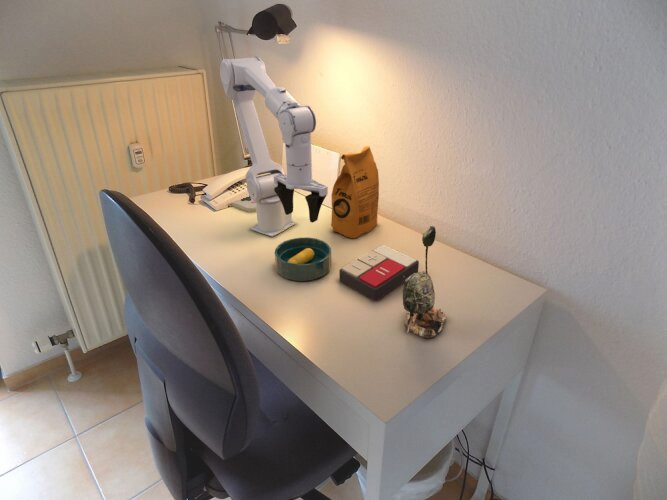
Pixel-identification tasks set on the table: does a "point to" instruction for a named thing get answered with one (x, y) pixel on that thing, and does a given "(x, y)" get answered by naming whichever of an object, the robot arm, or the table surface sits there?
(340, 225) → the coffee package
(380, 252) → the calculator
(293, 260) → the amber tube
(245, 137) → the robot arm
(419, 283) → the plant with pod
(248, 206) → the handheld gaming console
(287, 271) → the teal bowl
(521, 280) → the table surface
